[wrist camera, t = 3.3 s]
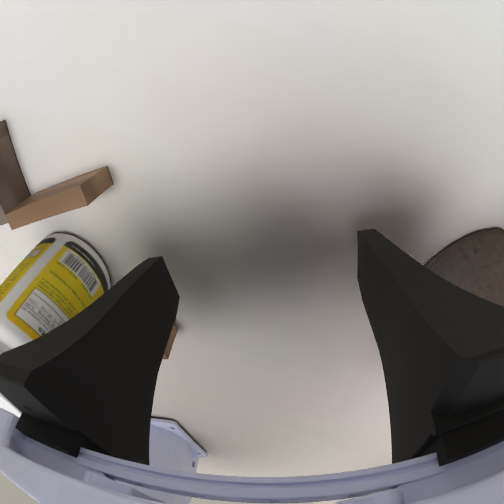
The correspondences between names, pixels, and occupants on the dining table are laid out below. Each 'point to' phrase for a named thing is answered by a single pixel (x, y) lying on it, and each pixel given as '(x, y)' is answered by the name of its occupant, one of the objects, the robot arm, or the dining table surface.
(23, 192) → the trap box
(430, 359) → the robot arm
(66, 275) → the supplement bottle
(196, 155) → the dining table surface
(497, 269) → the pillar candle
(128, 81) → the dining table surface
